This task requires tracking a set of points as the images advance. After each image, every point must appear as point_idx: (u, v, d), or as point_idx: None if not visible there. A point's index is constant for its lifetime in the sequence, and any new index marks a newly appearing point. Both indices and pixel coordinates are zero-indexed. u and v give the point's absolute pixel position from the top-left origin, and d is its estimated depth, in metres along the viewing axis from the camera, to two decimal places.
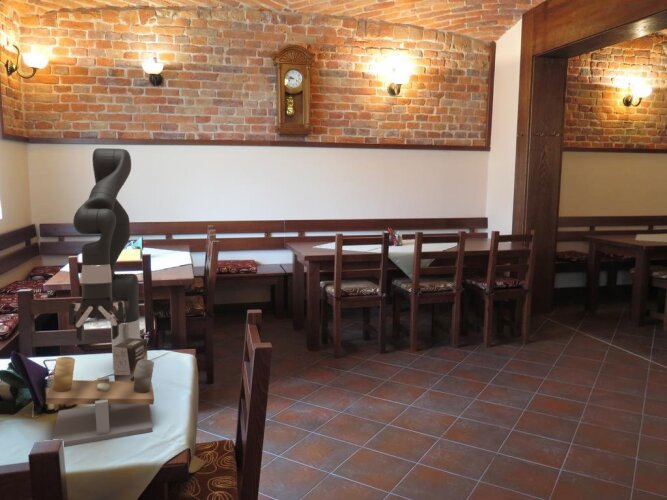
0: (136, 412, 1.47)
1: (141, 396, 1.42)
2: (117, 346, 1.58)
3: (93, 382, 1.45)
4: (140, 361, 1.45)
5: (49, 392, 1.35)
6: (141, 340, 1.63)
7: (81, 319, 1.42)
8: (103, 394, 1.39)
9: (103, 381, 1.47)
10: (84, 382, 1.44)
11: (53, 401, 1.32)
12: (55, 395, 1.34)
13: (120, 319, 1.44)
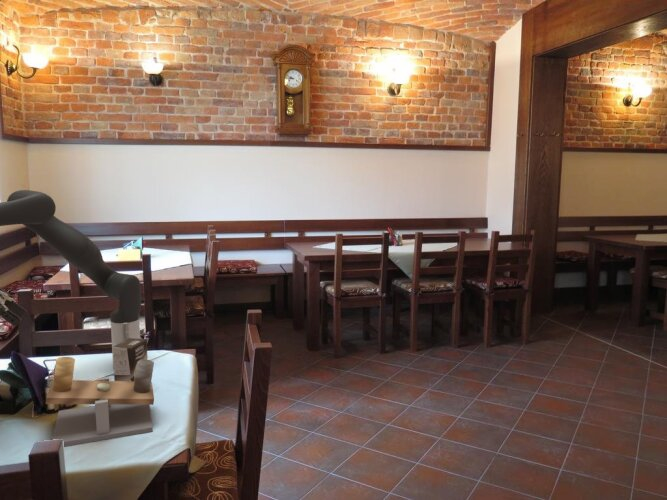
0: (136, 412, 1.47)
1: (141, 396, 1.42)
2: (117, 346, 1.58)
3: (93, 382, 1.45)
4: (140, 361, 1.45)
5: (49, 392, 1.35)
6: (141, 340, 1.63)
7: None
8: (103, 394, 1.39)
9: (103, 381, 1.47)
10: (84, 382, 1.44)
11: (53, 401, 1.32)
12: (55, 395, 1.34)
13: None
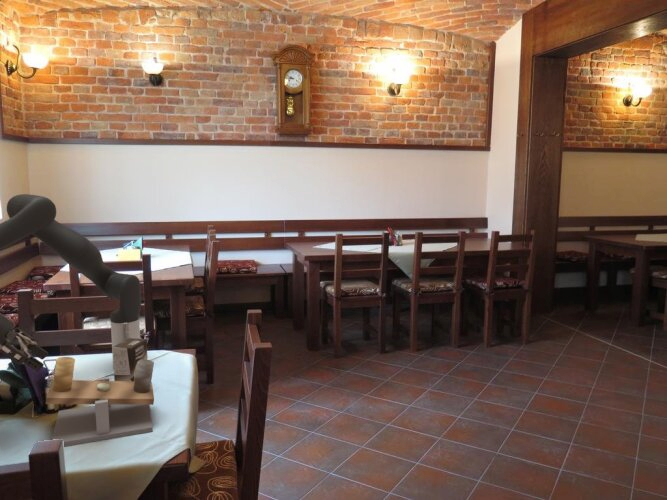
0: (136, 412, 1.47)
1: (141, 396, 1.42)
2: (117, 346, 1.58)
3: (93, 382, 1.45)
4: (140, 361, 1.45)
5: (49, 392, 1.35)
6: (141, 340, 1.63)
7: None
8: (103, 394, 1.39)
9: (103, 381, 1.47)
10: (84, 382, 1.44)
11: (53, 401, 1.32)
12: (55, 395, 1.34)
13: None
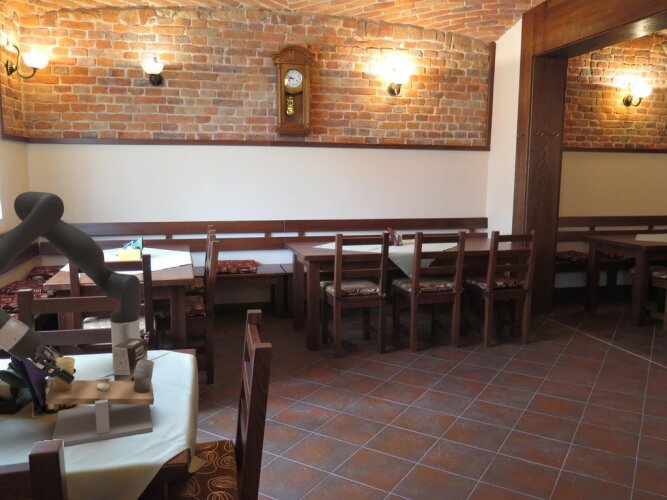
0: (136, 412, 1.47)
1: (141, 396, 1.42)
2: (117, 346, 1.58)
3: (93, 382, 1.45)
4: (140, 361, 1.45)
5: (49, 392, 1.35)
6: (141, 340, 1.63)
7: None
8: (103, 394, 1.39)
9: (103, 381, 1.47)
10: (84, 382, 1.44)
11: (53, 401, 1.32)
12: (55, 395, 1.34)
13: None
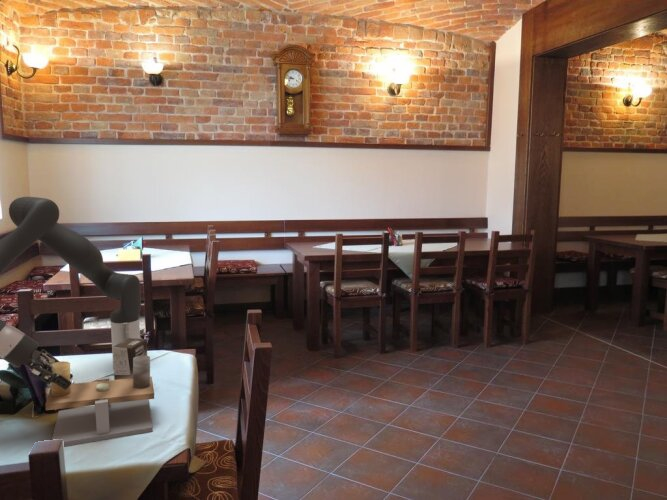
0: (136, 412, 1.47)
1: (141, 391, 1.42)
2: (117, 346, 1.58)
3: (93, 383, 1.45)
4: (136, 357, 1.45)
5: (48, 398, 1.35)
6: (141, 340, 1.63)
7: None
8: (102, 394, 1.39)
9: (103, 381, 1.47)
10: (83, 384, 1.44)
11: (53, 406, 1.32)
12: (55, 400, 1.34)
13: None
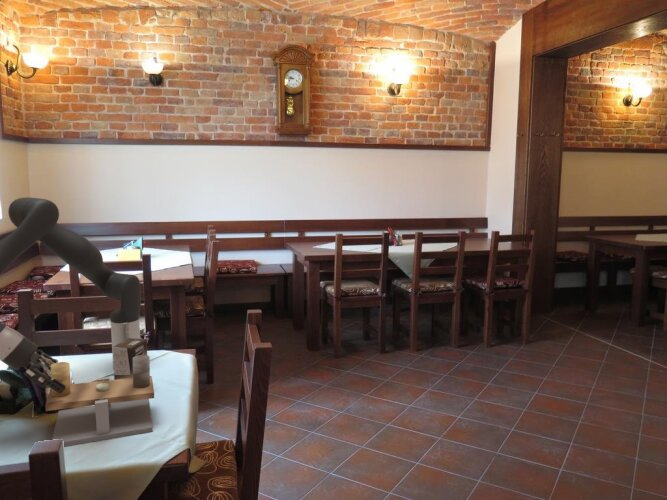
0: (136, 412, 1.47)
1: (141, 391, 1.42)
2: (117, 346, 1.58)
3: (92, 383, 1.45)
4: (135, 357, 1.45)
5: (48, 399, 1.35)
6: (141, 340, 1.63)
7: None
8: (102, 394, 1.39)
9: (103, 381, 1.47)
10: (83, 385, 1.44)
11: (53, 407, 1.32)
12: (55, 401, 1.34)
13: None
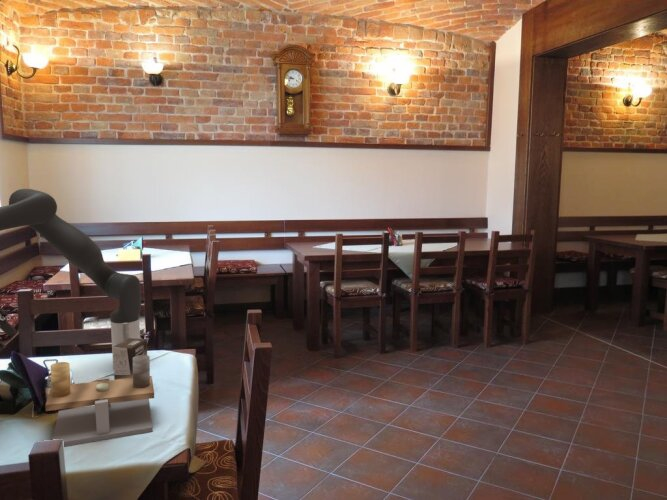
0: (136, 412, 1.47)
1: (141, 391, 1.42)
2: (117, 346, 1.58)
3: (92, 383, 1.45)
4: (135, 357, 1.45)
5: (48, 399, 1.35)
6: (141, 340, 1.63)
7: None
8: (102, 394, 1.39)
9: (103, 381, 1.47)
10: (83, 385, 1.44)
11: (53, 407, 1.32)
12: (55, 401, 1.34)
13: None
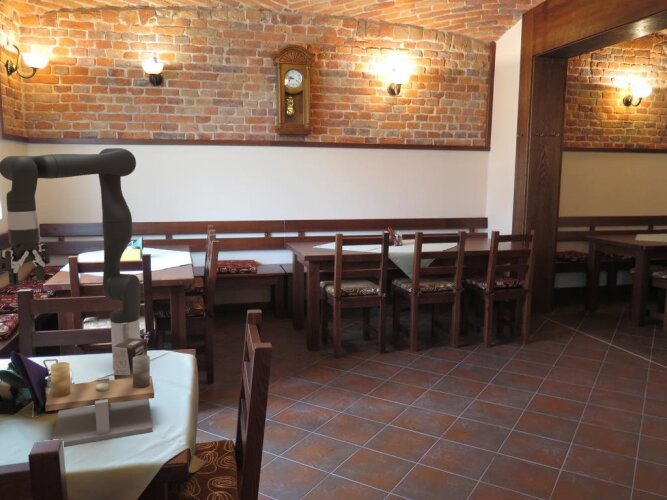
0: (136, 412, 1.47)
1: (141, 391, 1.42)
2: (117, 346, 1.58)
3: (92, 383, 1.45)
4: (135, 357, 1.45)
5: (48, 399, 1.35)
6: (141, 340, 1.63)
7: None
8: (102, 394, 1.39)
9: (103, 381, 1.47)
10: (83, 385, 1.44)
11: (53, 407, 1.32)
12: (55, 401, 1.34)
13: None
